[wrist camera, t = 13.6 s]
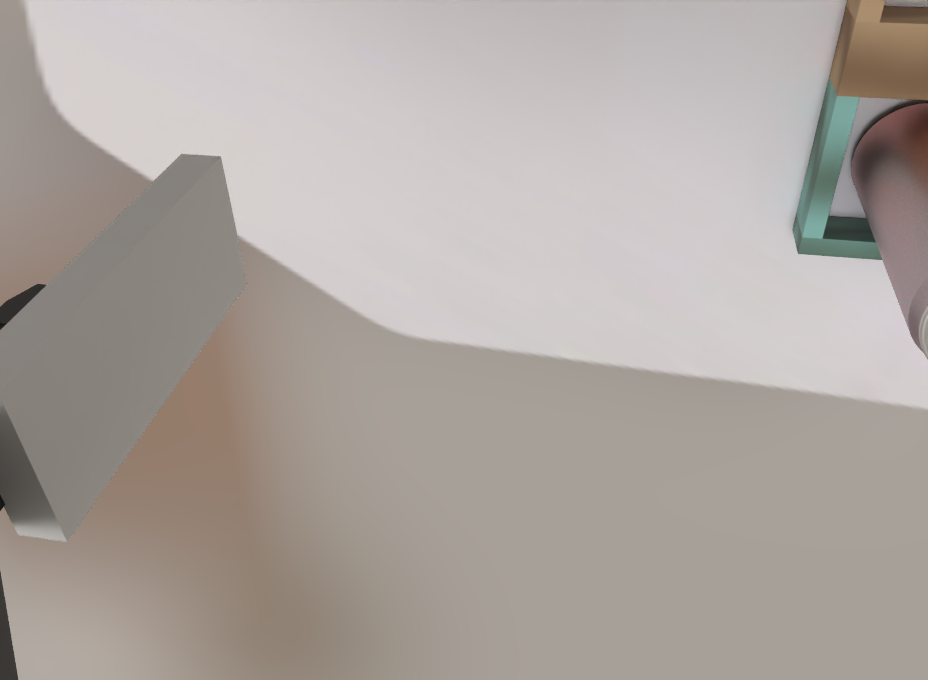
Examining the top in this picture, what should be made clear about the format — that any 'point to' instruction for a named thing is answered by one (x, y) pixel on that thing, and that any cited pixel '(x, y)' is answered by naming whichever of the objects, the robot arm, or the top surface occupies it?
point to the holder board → (853, 76)
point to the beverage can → (899, 206)
